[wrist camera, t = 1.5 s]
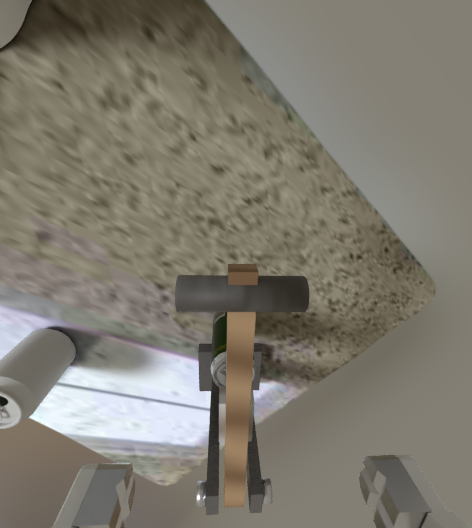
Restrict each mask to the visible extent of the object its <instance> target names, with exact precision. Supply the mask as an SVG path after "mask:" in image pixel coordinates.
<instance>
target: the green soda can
mask: <svg viewBox="0 0 472 528" xmlns="http://www.w3.org/2000/svg"><path fill="white" fill-rule="evenodd" d="M226 355H227V312H216V314H215V315H214V320H213V336H212V353H211V373H212V377H213V381H214V382H215V384H216V385H217V386H218V387H219V386H226ZM255 369H256V366H255V360H254V354H253V368H252V381H253V379H254V375H255Z"/></svg>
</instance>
